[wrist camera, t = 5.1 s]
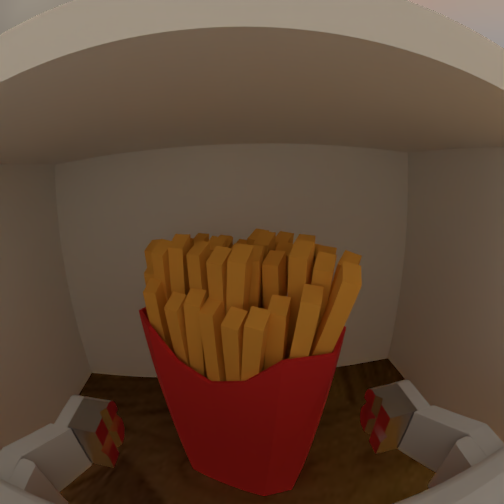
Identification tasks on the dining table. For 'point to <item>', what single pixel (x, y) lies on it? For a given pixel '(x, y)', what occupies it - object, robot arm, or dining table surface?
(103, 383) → the dining table surface
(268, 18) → the white step stool
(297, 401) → the french fries
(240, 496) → the dining table surface
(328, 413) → the dining table surface
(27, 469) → the robot arm
